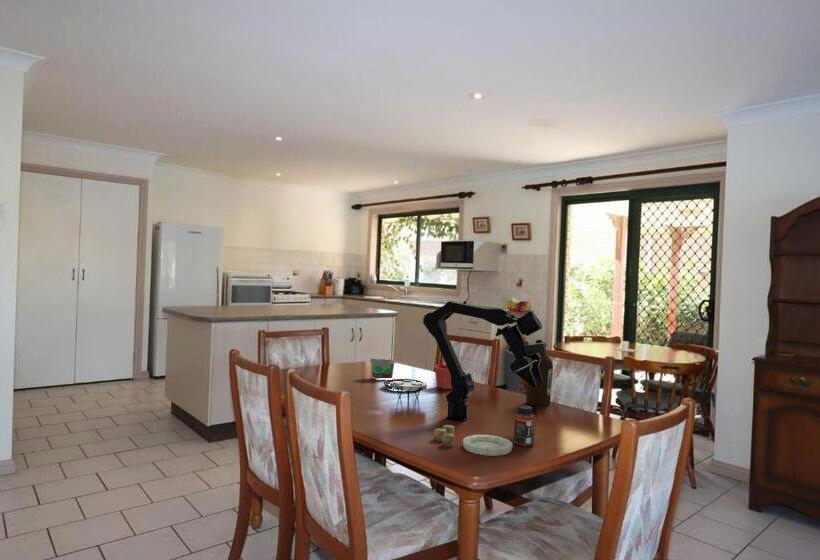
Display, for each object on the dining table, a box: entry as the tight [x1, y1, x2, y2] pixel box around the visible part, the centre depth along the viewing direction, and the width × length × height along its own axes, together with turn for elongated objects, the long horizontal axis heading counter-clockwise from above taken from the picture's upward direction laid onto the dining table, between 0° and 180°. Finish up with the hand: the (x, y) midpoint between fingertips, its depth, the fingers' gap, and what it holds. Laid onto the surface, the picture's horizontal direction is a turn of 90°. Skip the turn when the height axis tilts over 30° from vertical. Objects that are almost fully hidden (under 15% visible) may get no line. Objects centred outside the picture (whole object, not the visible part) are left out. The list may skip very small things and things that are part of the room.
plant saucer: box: [382, 378, 425, 390], centre depth 240 cm, size 18×18×3 cm
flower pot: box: [434, 364, 452, 390], centre depth 245 cm, size 11×11×10 cm
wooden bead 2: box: [442, 424, 455, 435], centre depth 171 cm, size 4×4×3 cm
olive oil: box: [525, 352, 554, 407], centre depth 221 cm, size 11×11×25 cm
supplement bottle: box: [513, 405, 536, 447], centre depth 165 cm, size 6×6×11 cm
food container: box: [369, 356, 396, 379], centre depth 259 cm, size 12×6×10 cm, turn 81°
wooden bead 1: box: [433, 427, 446, 442], centre depth 167 cm, size 4×4×3 cm
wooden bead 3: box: [442, 433, 456, 448], centre depth 162 cm, size 4×4×3 cm
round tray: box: [462, 434, 513, 457], centre depth 161 cm, size 14×14×2 cm
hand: (538, 384), depth 181 cm, fingers open, 9 cm apart
